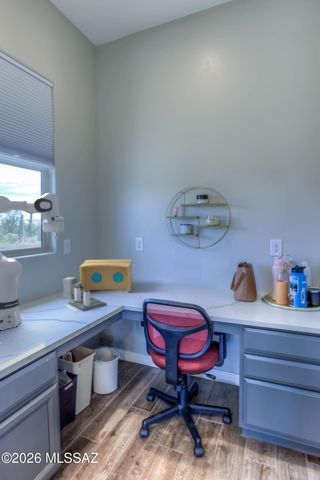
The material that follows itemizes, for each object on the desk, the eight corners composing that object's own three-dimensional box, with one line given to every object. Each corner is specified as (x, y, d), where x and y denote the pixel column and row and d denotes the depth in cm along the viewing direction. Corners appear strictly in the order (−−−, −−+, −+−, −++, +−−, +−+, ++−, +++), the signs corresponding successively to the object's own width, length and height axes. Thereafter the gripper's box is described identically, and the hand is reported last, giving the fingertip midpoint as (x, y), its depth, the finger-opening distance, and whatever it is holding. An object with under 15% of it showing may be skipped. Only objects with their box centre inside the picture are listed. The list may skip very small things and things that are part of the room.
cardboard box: (131, 285, 248) (131, 259, 246) (129, 293, 222) (129, 264, 220) (87, 286, 247) (86, 259, 245) (80, 294, 221) (79, 264, 219)
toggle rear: (76, 302, 194) (76, 287, 193) (74, 300, 197) (73, 286, 196) (81, 301, 196) (80, 286, 195) (78, 299, 199) (77, 285, 198)
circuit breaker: (80, 299, 207) (79, 279, 206) (63, 298, 210) (62, 279, 209) (84, 296, 214) (84, 277, 213) (68, 295, 217) (67, 277, 216)
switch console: (76, 312, 177) (76, 308, 177) (62, 305, 193) (62, 301, 193) (106, 305, 192) (106, 301, 192) (91, 298, 208) (91, 295, 208)
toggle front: (86, 306, 184) (85, 290, 183) (83, 305, 187) (82, 289, 186) (90, 305, 186) (90, 289, 185) (87, 304, 189) (87, 288, 188)
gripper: (39, 218, 183) (40, 238, 184) (56, 218, 171) (57, 240, 172) (48, 218, 188) (48, 238, 189) (65, 218, 176) (66, 239, 177)
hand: (53, 239), depth 180 cm, fingers open, 8 cm apart
